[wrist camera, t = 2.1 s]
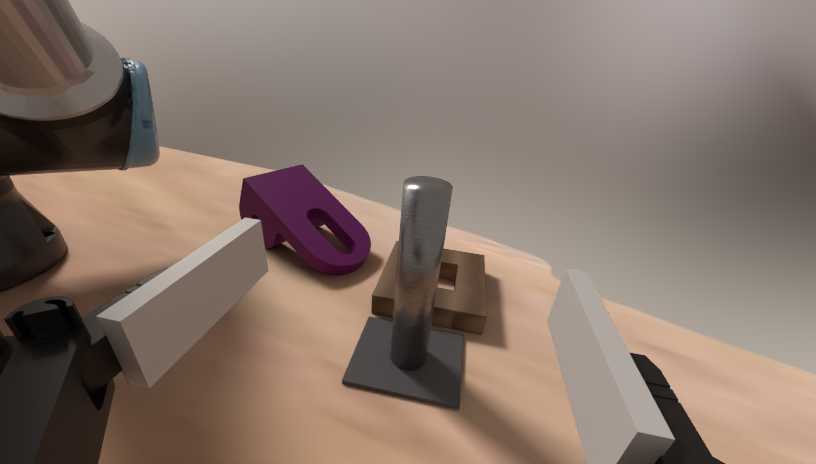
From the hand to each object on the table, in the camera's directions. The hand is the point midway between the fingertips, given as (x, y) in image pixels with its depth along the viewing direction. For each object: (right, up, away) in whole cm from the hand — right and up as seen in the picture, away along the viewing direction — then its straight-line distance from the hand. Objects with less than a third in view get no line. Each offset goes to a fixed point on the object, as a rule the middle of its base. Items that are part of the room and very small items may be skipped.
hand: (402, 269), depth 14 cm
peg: (0, -10, +17) cm, 19 cm away
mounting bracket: (-14, -1, +33) cm, 36 cm away
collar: (+3, -5, +26) cm, 27 cm away
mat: (0, -10, +17) cm, 20 cm away
